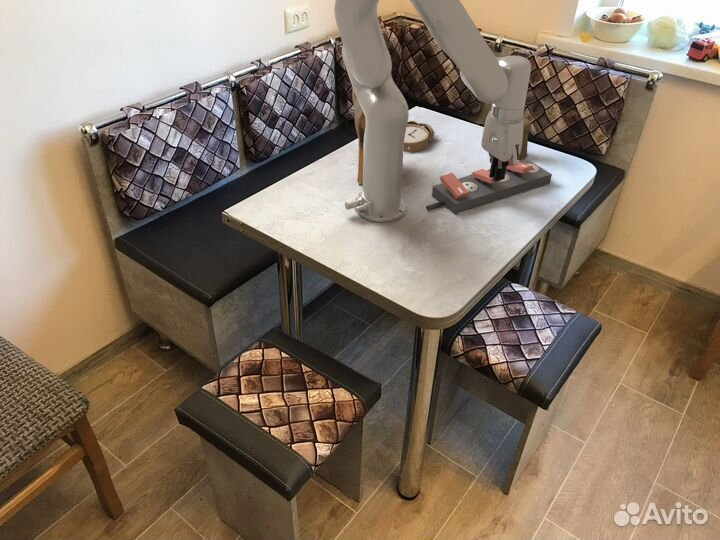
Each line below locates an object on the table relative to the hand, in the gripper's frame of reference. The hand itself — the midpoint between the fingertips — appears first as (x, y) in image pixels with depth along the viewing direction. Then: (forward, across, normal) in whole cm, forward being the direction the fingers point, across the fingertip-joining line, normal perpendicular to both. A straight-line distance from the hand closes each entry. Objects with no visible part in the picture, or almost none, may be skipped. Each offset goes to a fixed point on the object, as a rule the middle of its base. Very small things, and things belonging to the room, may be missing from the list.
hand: (496, 178), depth 158 cm
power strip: (+6, -3, 0) cm, 7 cm away
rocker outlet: (+2, -3, +10) cm, 11 cm away
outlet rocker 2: (+2, -3, -1) cm, 4 cm away
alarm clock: (+6, -37, -1) cm, 38 cm away
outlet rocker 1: (+2, -3, -11) cm, 12 cm away
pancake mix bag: (+6, -26, -21) cm, 34 cm away
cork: (+6, -16, +21) cm, 27 cm away
